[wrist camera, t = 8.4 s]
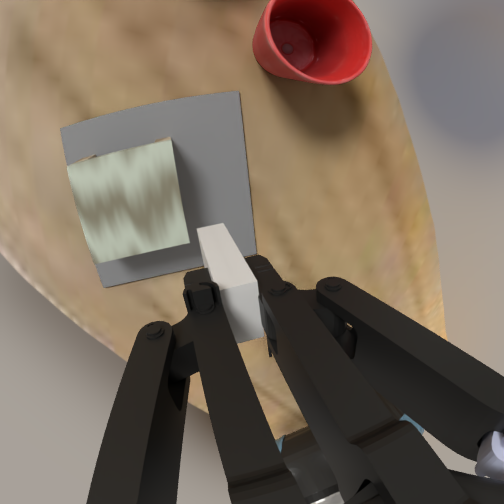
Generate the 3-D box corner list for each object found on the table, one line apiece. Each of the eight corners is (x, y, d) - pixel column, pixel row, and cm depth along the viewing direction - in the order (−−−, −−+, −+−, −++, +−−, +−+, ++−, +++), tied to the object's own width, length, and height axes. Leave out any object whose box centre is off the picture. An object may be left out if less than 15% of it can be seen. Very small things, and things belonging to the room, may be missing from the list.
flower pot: (295, 108, 33) (339, 109, 24) (219, 54, 28) (240, 32, 19) (339, 48, 30) (389, 37, 22) (271, -6, 26) (307, -37, 17)
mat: (255, 252, 39) (256, 253, 39) (104, 286, 35) (103, 287, 35) (238, 91, 30) (238, 90, 30) (61, 128, 26) (60, 128, 26)
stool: (189, 242, 29) (94, 264, 27) (185, 222, 35) (103, 241, 33) (171, 140, 25) (66, 166, 23) (170, 136, 30) (82, 158, 28)
